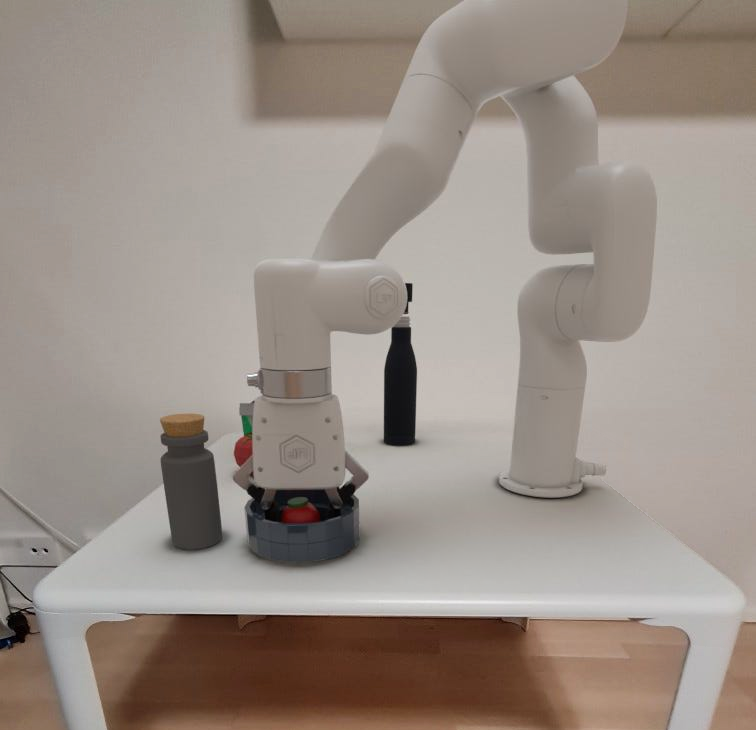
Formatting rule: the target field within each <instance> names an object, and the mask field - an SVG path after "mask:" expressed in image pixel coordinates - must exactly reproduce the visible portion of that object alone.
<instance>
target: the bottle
mask: <svg viewBox="0 0 756 730" xmlns="http://www.w3.org/2000/svg"><path fill="white" fill-rule="evenodd" d="M159 421H160V424H161V427H162V430H163V432H162V433H161V434H160V444H161V445H163V446H165V447H167V451H165V453H163V454H162V455H161V457H160V469H161V476H162V484H163V488H164V497H165V503H166V509H167V510H166V511H167V516H168V522H169V523H168V524H169V530H170V535H171V536H170V537H171V541H172V545H173V546H174V547H175V548H178V549H181V550H189V551H190V550H193V551H195V550H202V549H207V548H210V547H213V546H214V545H215V546H216V545H217V544H218V543H220V542H221V541H222V539H223V528H222V527H223V525H222V517H221V509H220V508H221V507H220V500H219V499H220V498H219V488H218V480H217V472H216V461H215V456H214V453H213V452H212V451H210V450H209V449H207V448H205V443H207V442H208V441H209V433H208V430H205V429H204V428H205V427H204V426H205V415H203V414H199V413H177V414H176V413H175V414H170V415H165V416H162V417H161V418H160V419H159Z"/></svg>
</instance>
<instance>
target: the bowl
mask: <svg viewBox="0 0 756 730" xmlns="http://www.w3.org/2000/svg"><path fill="white" fill-rule="evenodd" d="M297 497H305V498H307V499H308V502H309V503H311V504H313V505H314V506H315V507H316V509H317V510H318V512H319V515H320V521H319V522H311V523H281V516H282V512H283V510H284V509H285V508H286V506H287V505H288V504H287V502H288V501H289V500H290V499H293V498H297ZM275 498H276V501H277V502H278V503H279V509H280V522H273V521H269V520H266V519H265V512H264V509H262V508H261V506H260V504H259V503H258V502H257V501H256V500H254V499H253V498H252V497H250V499H248V500H247V502H246V504H245V505H244V518H245V519H244V520H245V528H246V539H247V544H248V547H249V549H250V550H251V551H252V552H254V553H255V554H256V555H258V556H259V557H262V558H264V559H268V560H271V561H277V562H285V563H311V562H317V561H318V562H319V561H325V560H328V559H331V558H335V557H337V556H338V557H339V556H341V555H344V554H346V553H347V552H349V551H350V550H352V549H354V548H355V547H356V545H357V544H358V543H359V541H360V540H361V539H360V499H359V498H358V497H357V496H356V495H355V493H354V494H353V495H352V496H351V497H350V498H349V499H348V500H347V501H346V502H345V503H344V504H343V505H342V507H341V516H339V517H336V518H332V519H329V520H328V505H329V502H330V500H329V498H328V495H327V493H326V491H325V489H311V490H277V492H276V494H275Z"/></svg>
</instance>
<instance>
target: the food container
mask: <svg viewBox="0 0 756 730" xmlns="http://www.w3.org/2000/svg"><path fill="white" fill-rule="evenodd" d="M254 402H255V399H254V400H252V401H251V402H242V403H241V402H240V403H239V407H238V411H239V415H238V416H240V417H241V418H240V419H241V425H242V432H243V436H245V435H248V434H249V435H252V427H253V409H254Z"/></svg>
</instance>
